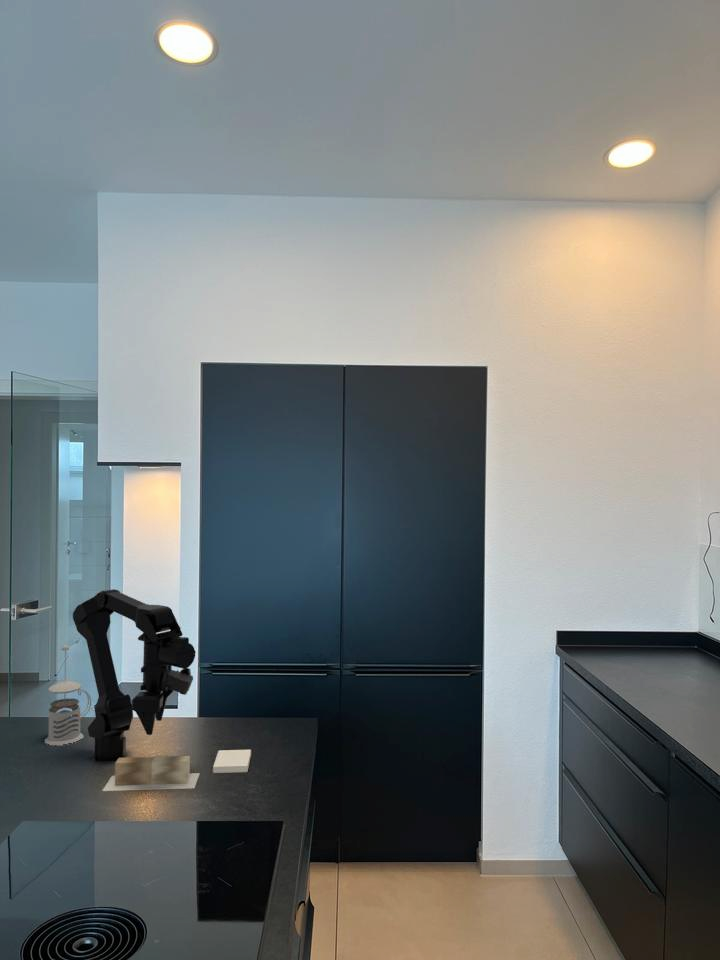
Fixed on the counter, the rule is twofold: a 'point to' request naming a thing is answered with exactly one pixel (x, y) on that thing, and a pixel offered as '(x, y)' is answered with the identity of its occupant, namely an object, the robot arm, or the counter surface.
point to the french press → (65, 713)
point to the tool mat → (151, 785)
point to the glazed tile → (232, 761)
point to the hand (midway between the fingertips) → (154, 727)
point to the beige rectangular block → (152, 770)
